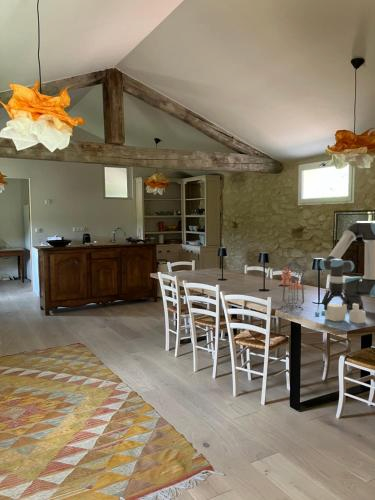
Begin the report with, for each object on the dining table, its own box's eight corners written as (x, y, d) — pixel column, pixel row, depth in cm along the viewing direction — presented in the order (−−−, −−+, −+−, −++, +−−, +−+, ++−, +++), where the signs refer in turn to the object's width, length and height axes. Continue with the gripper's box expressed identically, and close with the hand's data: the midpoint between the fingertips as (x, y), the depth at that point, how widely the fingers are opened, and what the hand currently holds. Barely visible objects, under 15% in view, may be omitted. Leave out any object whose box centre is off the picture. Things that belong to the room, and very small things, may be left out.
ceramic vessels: (312, 291, 366) (312, 271, 365) (292, 292, 361) (292, 272, 359) (293, 285, 400) (293, 267, 398) (274, 286, 394) (274, 267, 393)
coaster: (338, 318, 264) (338, 316, 264) (347, 321, 254) (347, 320, 254) (324, 318, 261) (324, 317, 261) (333, 322, 252) (333, 321, 252)
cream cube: (335, 316, 264) (336, 303, 263) (345, 319, 256) (345, 306, 255) (324, 317, 261) (325, 304, 260) (334, 321, 253) (334, 307, 252)
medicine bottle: (356, 320, 258) (357, 302, 257) (365, 322, 252) (366, 304, 251) (348, 321, 256) (349, 303, 255) (357, 323, 249) (357, 305, 248)
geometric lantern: (289, 310, 287) (290, 263, 285) (278, 306, 302) (279, 261, 300) (308, 309, 291) (309, 262, 289) (296, 304, 306) (297, 260, 304)
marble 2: (325, 312, 270) (321, 313, 271) (326, 315, 272) (322, 316, 272) (324, 309, 273) (320, 310, 273) (325, 312, 274) (321, 313, 275)
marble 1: (320, 313, 268) (319, 316, 270) (317, 310, 270) (316, 313, 272) (317, 314, 267) (316, 317, 269) (314, 311, 269) (313, 314, 271)
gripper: (349, 280, 262) (349, 312, 264) (316, 282, 257) (315, 314, 258) (356, 282, 255) (356, 314, 256) (322, 284, 250) (321, 316, 251)
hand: (335, 314), depth 257 cm, fingers open, 13 cm apart
